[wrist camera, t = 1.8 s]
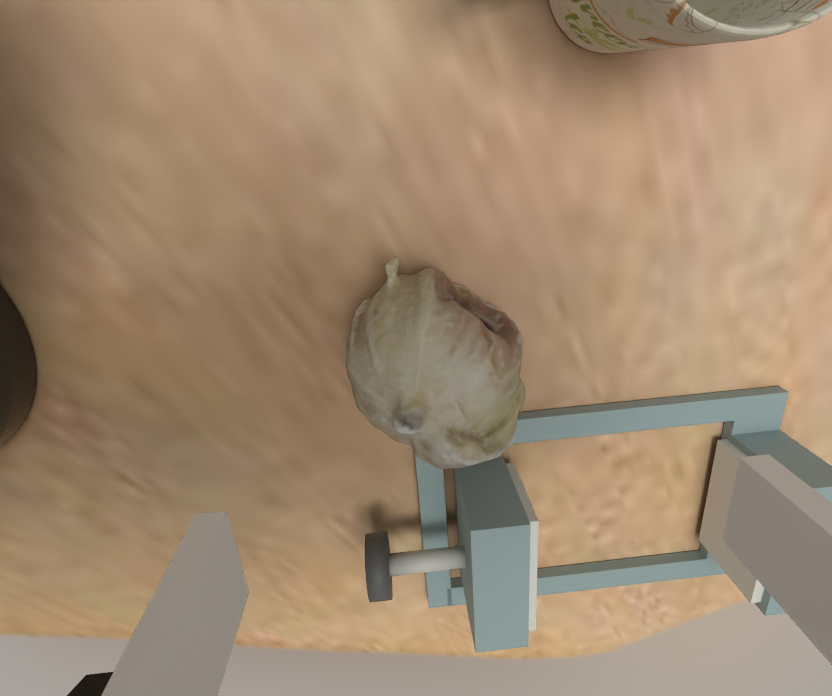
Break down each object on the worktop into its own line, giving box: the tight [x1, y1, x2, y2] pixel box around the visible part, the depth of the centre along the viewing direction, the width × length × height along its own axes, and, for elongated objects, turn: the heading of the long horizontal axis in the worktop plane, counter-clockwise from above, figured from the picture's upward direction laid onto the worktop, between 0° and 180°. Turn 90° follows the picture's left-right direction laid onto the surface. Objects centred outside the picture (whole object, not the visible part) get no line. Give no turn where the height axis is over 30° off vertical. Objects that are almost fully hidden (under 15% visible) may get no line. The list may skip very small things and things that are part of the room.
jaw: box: [365, 456, 539, 653], centre depth 28 cm, size 9×9×6 cm
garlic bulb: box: [346, 257, 525, 469], centre depth 23 cm, size 9×8×10 cm
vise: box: [415, 386, 832, 616], centre depth 29 cm, size 22×14×6 cm, turn 94°
